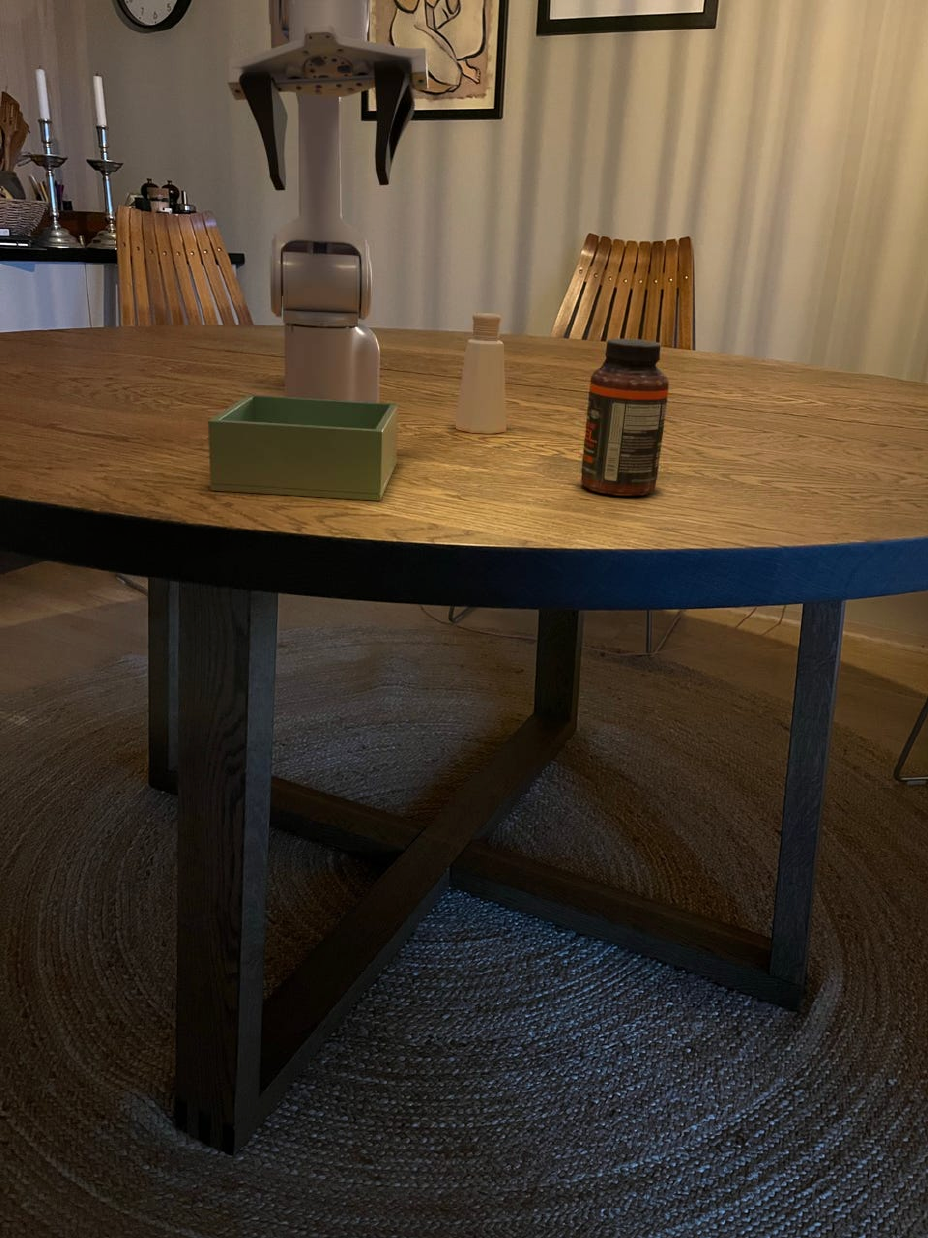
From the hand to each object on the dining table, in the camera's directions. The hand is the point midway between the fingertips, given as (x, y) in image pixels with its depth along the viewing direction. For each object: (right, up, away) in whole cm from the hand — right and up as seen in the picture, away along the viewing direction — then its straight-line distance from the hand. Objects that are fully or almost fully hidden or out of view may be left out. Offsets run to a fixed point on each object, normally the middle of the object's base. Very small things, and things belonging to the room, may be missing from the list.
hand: (329, 180), depth 72 cm
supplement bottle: (+22, -22, +6) cm, 32 cm away
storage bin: (-2, -21, +4) cm, 21 cm away
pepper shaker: (+11, -13, +27) cm, 32 cm away
